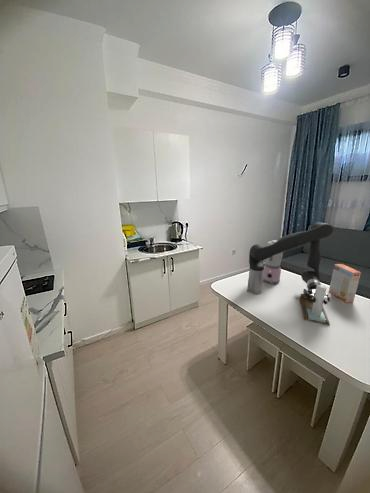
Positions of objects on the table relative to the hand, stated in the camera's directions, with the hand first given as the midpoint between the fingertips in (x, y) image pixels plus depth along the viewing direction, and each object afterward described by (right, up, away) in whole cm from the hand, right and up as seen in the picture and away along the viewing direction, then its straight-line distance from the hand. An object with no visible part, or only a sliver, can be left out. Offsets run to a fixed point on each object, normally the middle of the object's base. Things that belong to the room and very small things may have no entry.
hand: (320, 301), depth 108 cm
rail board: (+4, -8, +13) cm, 16 cm away
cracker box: (+31, -4, +26) cm, 41 cm away
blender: (-6, +2, +48) cm, 49 cm away
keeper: (+1, -10, +6) cm, 11 cm away
